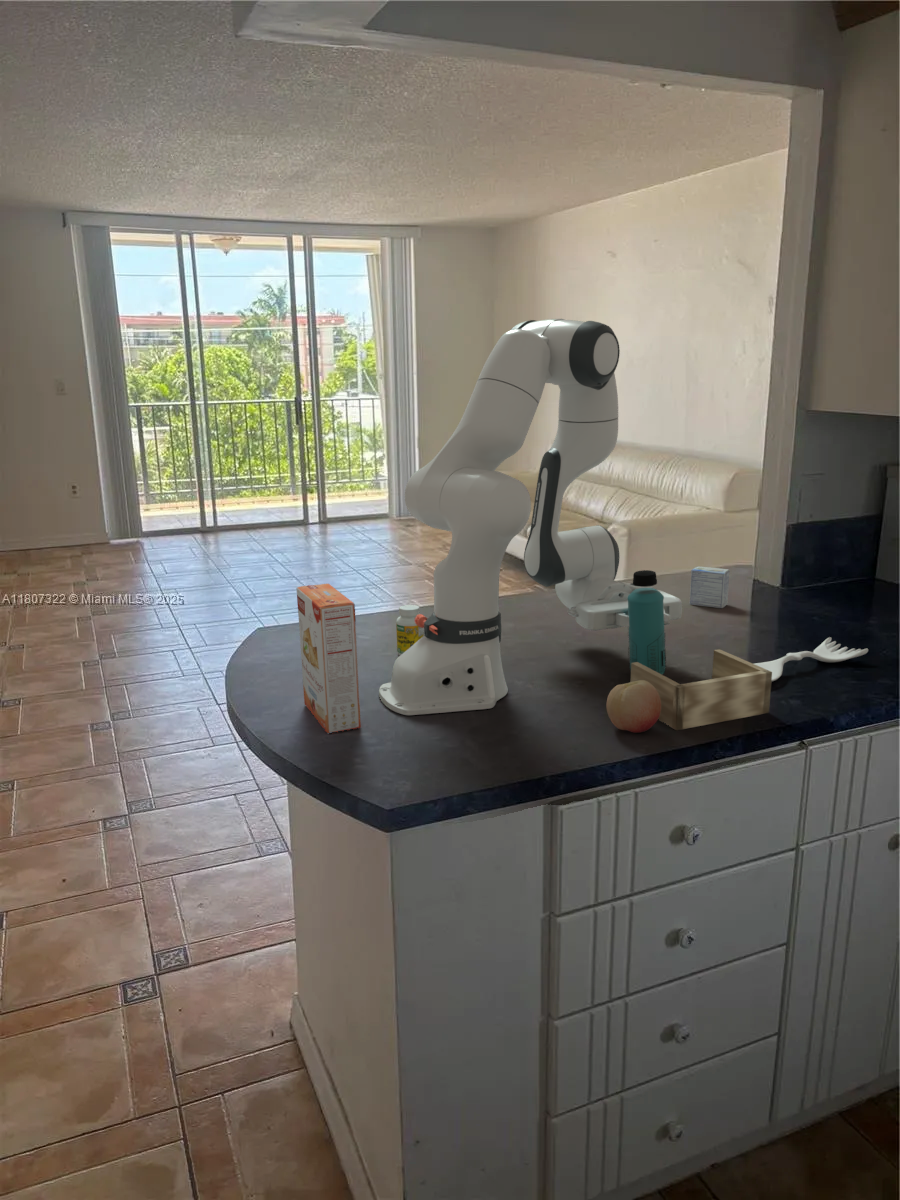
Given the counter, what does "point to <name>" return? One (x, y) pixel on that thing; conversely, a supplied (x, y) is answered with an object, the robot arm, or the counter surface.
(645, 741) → the counter surface
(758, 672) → the box
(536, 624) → the counter surface
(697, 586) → the medicine box
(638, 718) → the fruit
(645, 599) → the beverage bottle
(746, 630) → the counter surface
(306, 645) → the cracker box
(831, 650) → the white long slender part
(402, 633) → the supplement bottle
